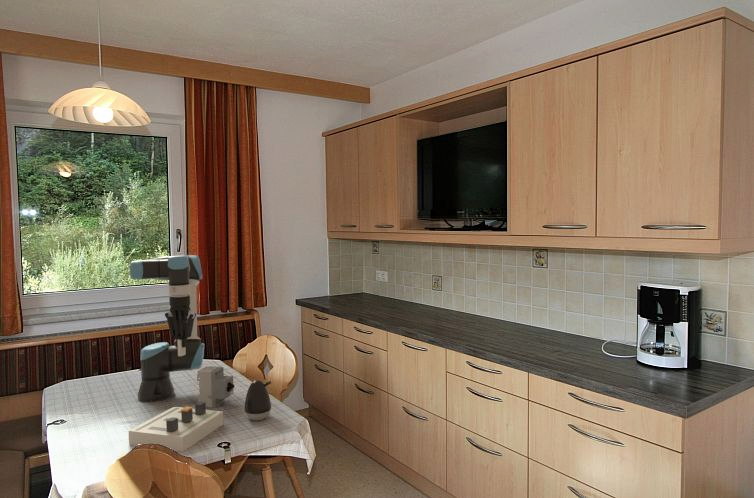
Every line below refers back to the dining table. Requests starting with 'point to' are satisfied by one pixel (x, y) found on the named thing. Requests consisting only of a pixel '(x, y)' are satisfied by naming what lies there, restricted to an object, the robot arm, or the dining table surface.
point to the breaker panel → (173, 436)
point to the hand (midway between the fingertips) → (181, 355)
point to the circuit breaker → (214, 386)
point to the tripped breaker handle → (187, 414)
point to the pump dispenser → (257, 401)
